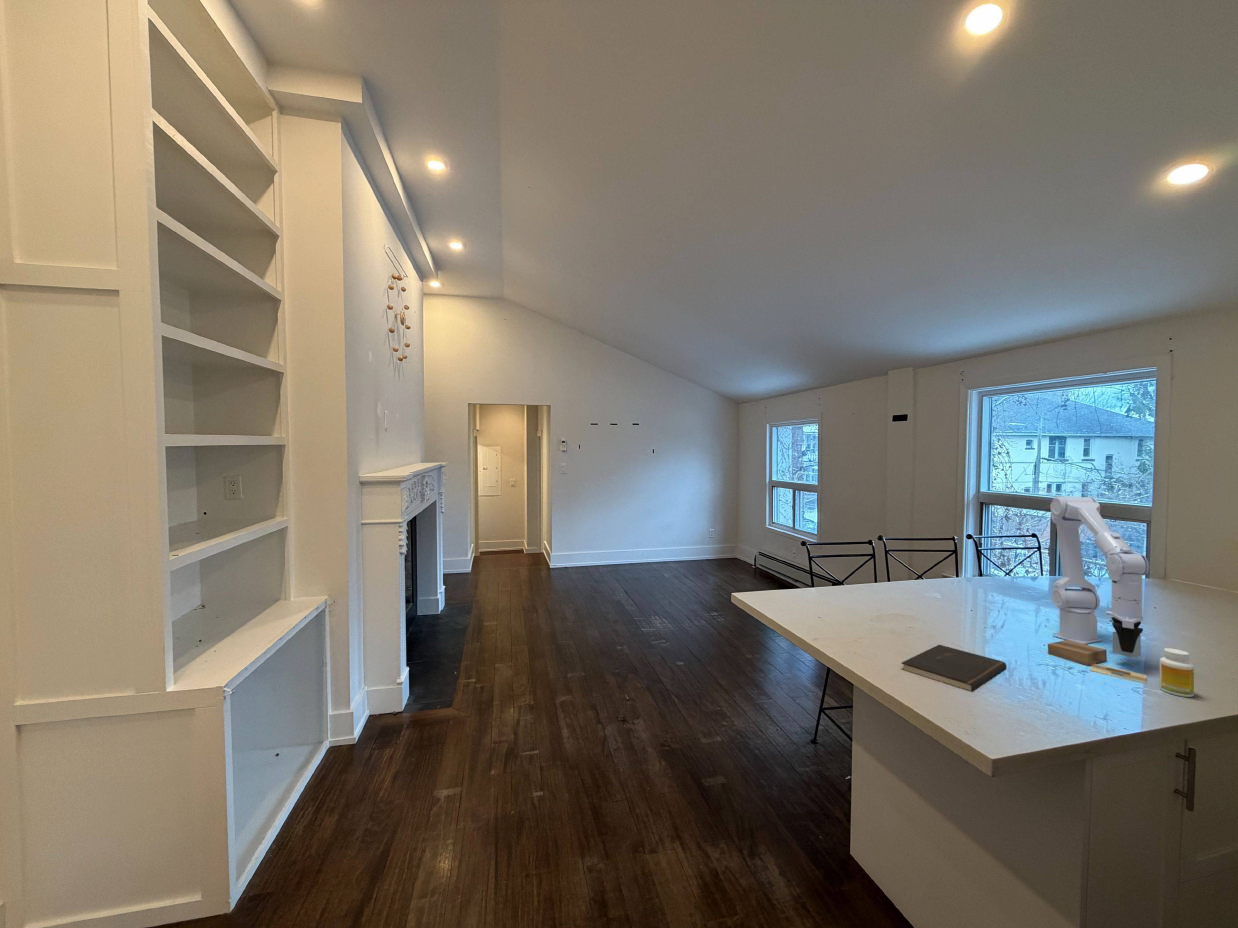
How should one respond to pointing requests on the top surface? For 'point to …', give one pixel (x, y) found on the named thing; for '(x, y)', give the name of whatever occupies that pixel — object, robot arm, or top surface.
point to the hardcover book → (955, 667)
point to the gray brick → (1118, 651)
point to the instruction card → (1119, 673)
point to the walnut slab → (1077, 652)
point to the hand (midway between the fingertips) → (1126, 648)
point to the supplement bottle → (1176, 673)
